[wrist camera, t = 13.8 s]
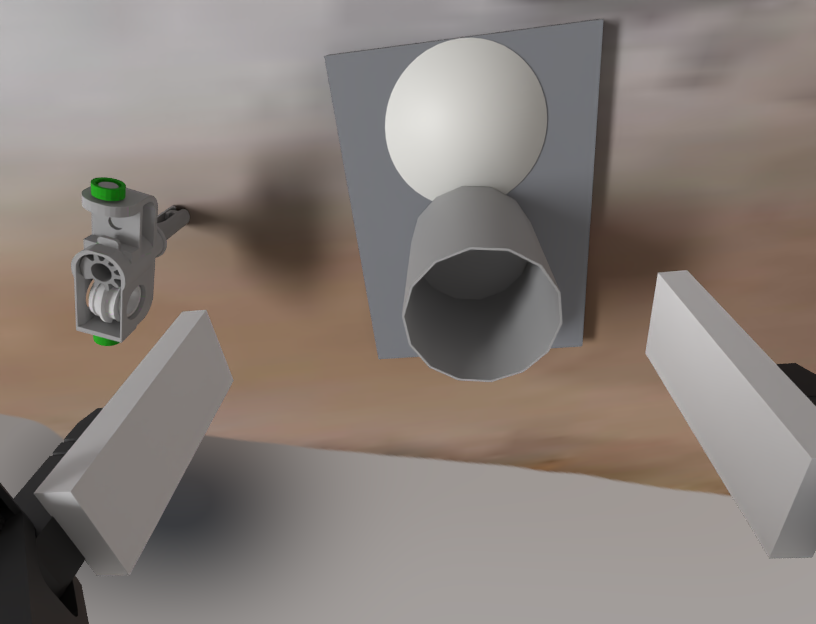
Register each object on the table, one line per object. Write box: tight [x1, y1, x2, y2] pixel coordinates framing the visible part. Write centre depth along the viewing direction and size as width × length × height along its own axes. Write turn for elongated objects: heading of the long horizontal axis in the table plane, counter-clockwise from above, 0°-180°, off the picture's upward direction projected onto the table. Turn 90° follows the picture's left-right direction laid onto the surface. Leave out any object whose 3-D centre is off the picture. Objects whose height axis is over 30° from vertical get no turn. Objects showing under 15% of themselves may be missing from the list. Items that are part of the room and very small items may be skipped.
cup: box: [402, 186, 562, 382], centre depth 31 cm, size 8×8×10 cm
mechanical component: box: [71, 177, 190, 346], centre depth 32 cm, size 3×10×10 cm, turn 163°
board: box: [324, 19, 603, 359], centre depth 33 cm, size 22×16×5 cm
